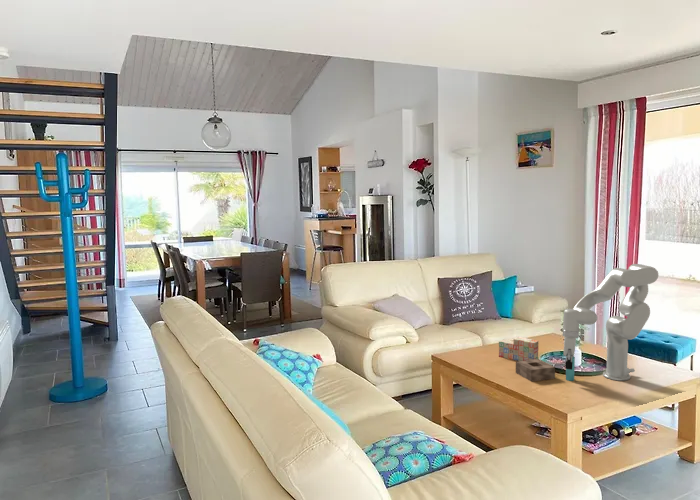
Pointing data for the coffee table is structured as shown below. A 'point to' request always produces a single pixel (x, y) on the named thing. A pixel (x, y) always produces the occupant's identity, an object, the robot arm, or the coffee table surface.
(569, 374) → the peg
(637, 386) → the coffee table surface
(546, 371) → the socket block
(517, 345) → the stack of blocks
